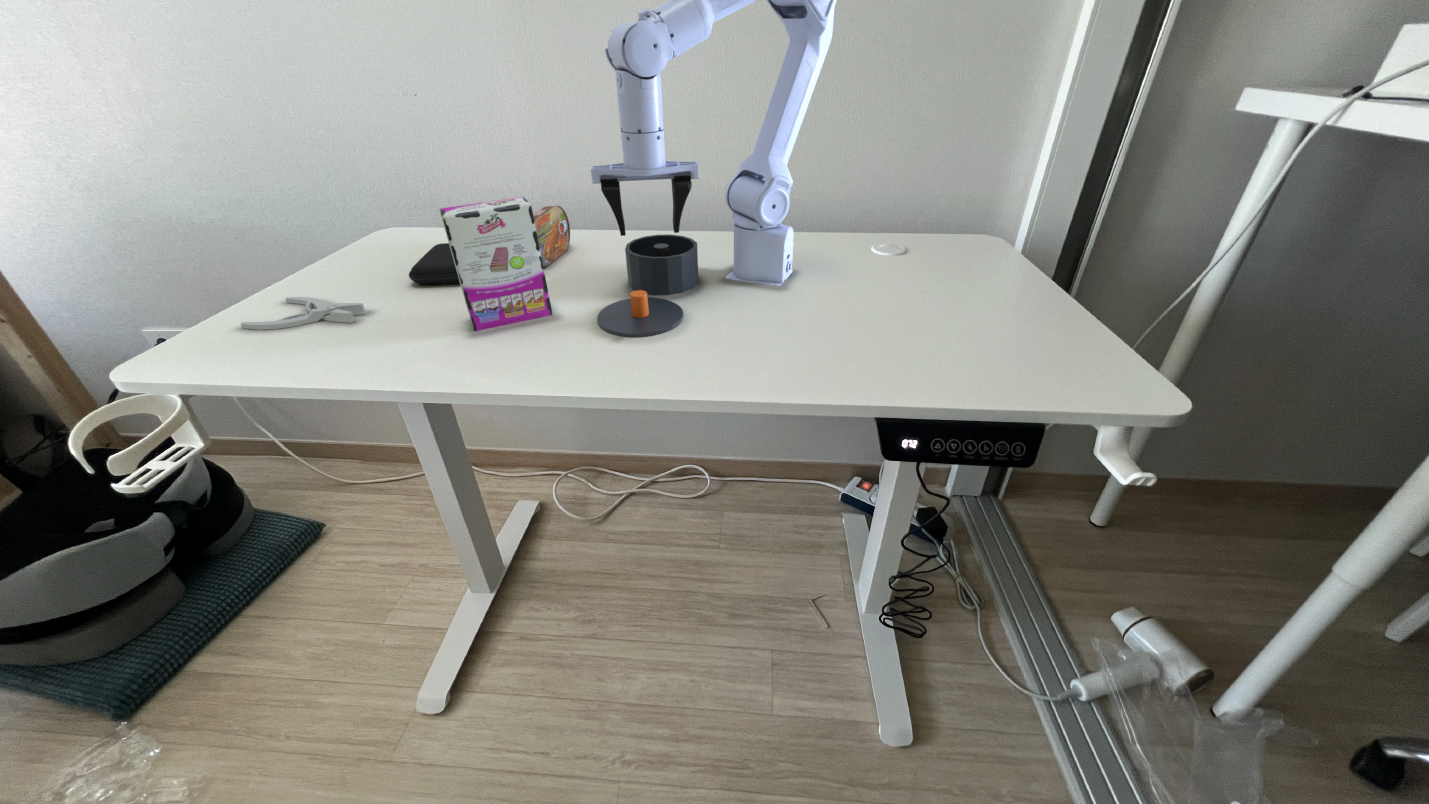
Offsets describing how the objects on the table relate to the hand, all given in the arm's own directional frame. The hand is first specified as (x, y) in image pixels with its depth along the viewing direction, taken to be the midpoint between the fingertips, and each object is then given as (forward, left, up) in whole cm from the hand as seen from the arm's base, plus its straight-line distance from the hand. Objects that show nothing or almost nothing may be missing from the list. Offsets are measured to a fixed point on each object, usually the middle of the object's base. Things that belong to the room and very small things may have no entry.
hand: (649, 232), depth 85 cm
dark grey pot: (+1, -6, -10) cm, 12 cm away
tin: (+26, -10, -11) cm, 30 cm away
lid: (-2, +8, -10) cm, 13 cm away
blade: (+1, -6, -10) cm, 11 cm away
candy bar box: (+16, +14, -11) cm, 24 cm away
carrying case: (+38, +1, -11) cm, 40 cm away
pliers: (+45, +23, -11) cm, 52 cm away
